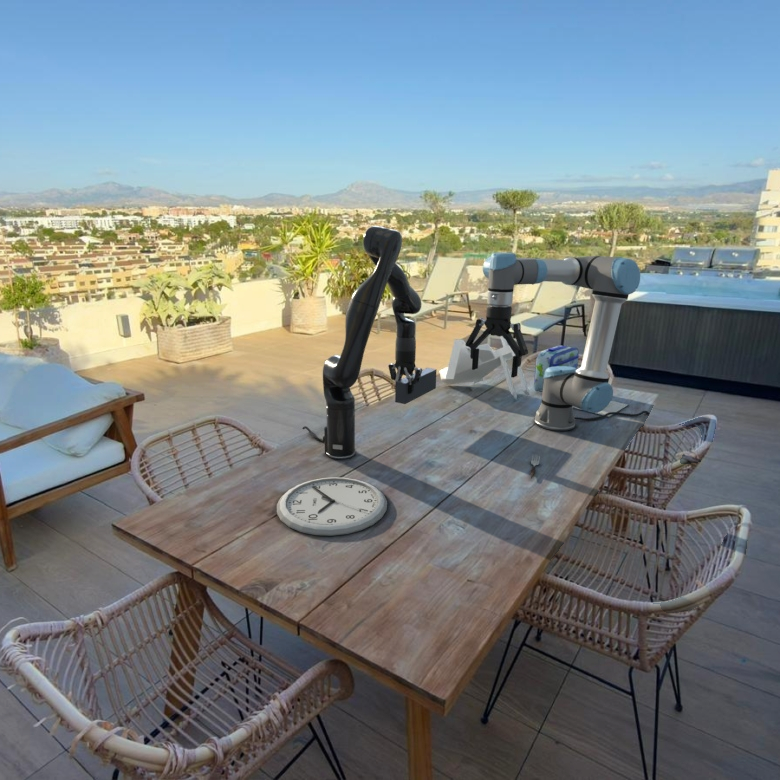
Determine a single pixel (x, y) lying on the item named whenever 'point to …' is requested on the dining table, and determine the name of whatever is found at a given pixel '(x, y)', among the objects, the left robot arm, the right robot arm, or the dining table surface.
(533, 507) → the dining table surface
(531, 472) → the fork
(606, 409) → the invitation card
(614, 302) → the right robot arm
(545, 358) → the lunch box
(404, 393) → the bar
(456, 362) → the white plastic object
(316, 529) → the wall clock
